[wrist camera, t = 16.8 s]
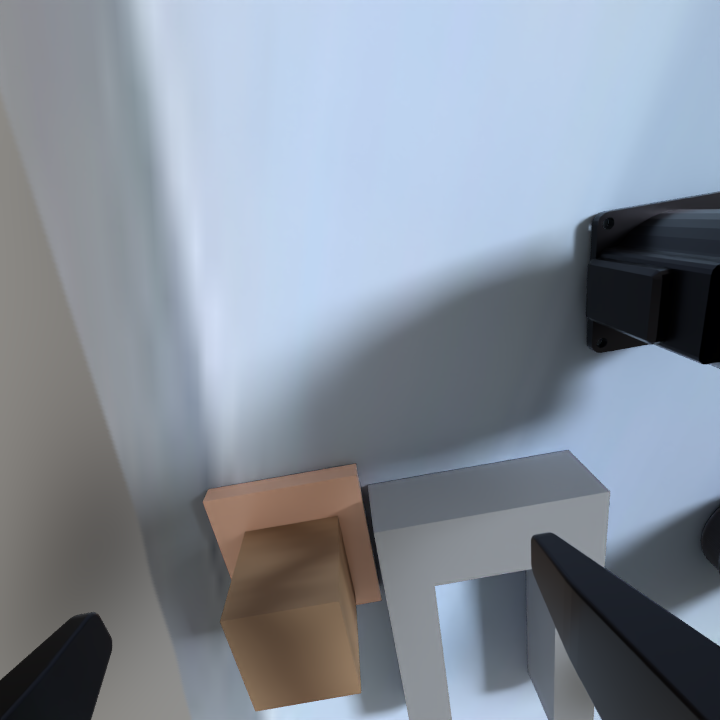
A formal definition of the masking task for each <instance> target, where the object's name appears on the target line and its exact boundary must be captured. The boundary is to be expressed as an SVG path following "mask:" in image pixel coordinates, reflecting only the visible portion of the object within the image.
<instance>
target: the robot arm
mask: <svg viewBox="0 0 720 720" xmlns="http://www.w3.org/2000/svg"><path fill="white" fill-rule="evenodd" d="M606 218H607V219H608V221H609V223H608V226H607V227H606V228H605V229H604V228H603V222H604V221H605V219H606ZM586 316H587V317H588V328H587V346H588V347H589V348H590V349H592V350H594V351H596V352H598V353H602V352H608V351H614V350H619V349H625V348H631V347H637V346H642V345H648V344H654V345H657V346H659V347H661V348H664V349H666V350H669V351H671V352H674V353H676V354H679V355H681V356H684V357H686V358H689V359H691V360H693V361H696V362H698V363H701V364H709V365H712V366H714V367H717V368H719V369H720V191H719V192H714V193H708V194H702V195H696V196H690V197H685V198H679V199H673V200H667V201H661V202H656V203H650V204H644V205H638V206H632V207H626V208H621V209H615V210H609V211H603V212H601V213H599V214H598V215H596V216H595V218H594V219H593V222H592V232H591V256H590V263H589V265H588V277H587V302H586ZM601 338H602V342H601V343H600V344H599V345H597V342H598V340H599V339H601ZM531 567H532V572H533V575H534V578H535V580H536V582H537V585H538V587H539V590H540V592H541V594H542V597H543V599H544V601H545V604H546V606H547V608H548V611H549V613H550V615H551V618H552V620H553V622H554V625H555V627H556V629H557V632H558V634H559V636H560V639H561V641H562V643H563V646H564V648H565V650H566V652H567V655H568V657H569V659H570V661H571V663H572V665H573V667H574V669H575V671H576V673H577V675H578V676H579V678H580V680H581V682H582V684H583V686H584V688H585V689H586V691H587V693H588V695H589V697H590V699H591V701H592V702H593V704H594V706H595V708H596V710H597V712H598V714H599V715H600V717H601V719H602V720H720V646H718V645H717V644H715V643H714V642H712V641H711V640H710V639H708V638H707V637H705V636H704V635H702V634H701V633H699V632H698V631H696V630H695V629H693V628H692V627H690V626H689V625H688V624H686V623H685V622H683V621H682V620H680V619H679V618H677V617H676V616H674V615H673V614H671V613H670V612H669V611H667V610H666V609H664V608H663V607H661V606H660V605H658V604H657V603H655V602H654V601H652V600H651V599H649V598H648V597H647V596H645V595H644V594H642V593H641V592H639V591H638V590H636V589H635V588H633V587H632V586H630V585H629V584H628V583H626V582H625V581H623V580H622V579H620V578H619V577H617V576H616V575H614V574H613V573H611V572H610V571H608V570H607V569H606V568H604V567H603V566H601V565H600V564H598V563H597V562H595V561H594V560H592V559H591V558H589V557H588V556H586V555H585V554H584V553H582V552H581V551H579V550H578V549H576V548H575V547H573V546H572V545H570V544H569V543H567V542H566V541H565V540H563V539H562V538H560V537H559V536H557V535H556V534H554V533H551V532H547V533H541V534H536V535H533V536H532V538H531ZM111 651H112V638H111V636H110V634H109V632H108V630H107V629H106V627H105V625H104V623H103V621H102V620H101V618H100V616H99V615H98V614H96V613H95V612H91V613H86V614H80V615H76V616H74V617H72V618H70V619H69V620H68V621H67V622H66V623H65V624H63V625H62V626H61V627H60V628H59V629H58V630H57V631H55V632H54V633H53V634H52V635H51V636H50V637H49V638H48V639H46V640H45V641H44V642H43V643H42V644H41V645H40V646H39V647H37V648H36V649H35V650H34V651H33V652H32V653H31V654H30V655H28V656H27V657H26V658H25V659H24V660H23V661H21V662H20V663H19V664H18V665H17V666H16V667H15V668H14V669H13V670H11V671H10V672H9V673H8V674H7V675H6V676H5V677H4V678H2V679H1V680H0V720H91V718H92V714H93V712H94V708H95V705H96V702H97V698H98V695H99V692H100V688H101V685H102V682H103V678H104V675H105V672H106V669H107V665H108V662H109V658H110V655H111Z"/></svg>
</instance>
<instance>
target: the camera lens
mask: <svg viewBox="0 0 720 720" xmlns="http://www.w3.org/2000/svg"><path fill="white" fill-rule="evenodd" d="M701 546H702V550H703V553H704V555H705V556H706V558H707V559H708V560H709V561H710V562H711V563H712V564H713V565H714V566H715V567H716V568H717V569H718V570H719V573H720V507H719V508H718V509H717V510H716V511H715V513H714V514H713V515H712V516H711V517H710V519H709V520H708V522H707V524H706V526H705V528H704V530H703V533H702V538H701Z"/></svg>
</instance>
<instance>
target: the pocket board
mask: <svg viewBox="0 0 720 720" xmlns="http://www.w3.org/2000/svg"><path fill="white" fill-rule="evenodd" d="M368 492H369V500H370V507H371V515H372V523H373V531H374V537H375V542H376V547H377V553H378V558H379V563H380V568H381V574H382V579H383V584H384V590H385V595H386V600H387V605H388V611H389V616H390V621H391V626H392V632H393V637H394V642H395V648H396V653H397V658H398V663H399V669H400V674H401V679H402V684H403V690H404V695H405V700H406V706H407V711H408V716H409V720H452V717H451V709H450V702H449V694H448V686H447V678H446V670H445V663H444V655H443V647H442V639H441V632H440V624H439V616H438V608H437V601H436V593H435V586H438V585H443V584H449V583H455V582H460V581H466V580H472V579H478V578H483V577H489V576H495V575H500V574H506V573H512V572H517V571H523V570H526V600H527V653H528V673H529V676H530V678H531V680H532V683H533V685H534V687H535V690H536V692H537V694H538V697H539V699H540V701H541V704H542V706H543V708H544V711H545V713H546V716H547V718H548V720H593V717H594V704H593V702H592V701H591V699H590V697H589V695H588V693H587V691H586V689H585V688H584V686H583V684H582V682H581V680H580V678H579V676H578V675H577V673H576V671H575V669H574V667H573V665H572V663H571V661H570V659H569V657H568V655H567V652H566V650H565V648H564V646H563V643H562V641H561V639H560V636H559V634H558V632H557V629H556V627H555V625H554V622H553V620H552V618H551V615H550V613H549V611H548V608H547V606H546V604H545V601H544V599H543V597H542V594H541V592H540V590H539V587H538V585H537V582H536V580H535V578H534V575H533V572H532V567H531V538H532V536H533V535H536V534H541V533H547V532H551V533H554V534H556V535H557V536H559V537H560V538H562V539H563V540H565V541H566V542H567V543H569V544H570V545H572V546H573V547H575V548H576V549H578V550H579V551H581V552H582V553H584V554H585V555H586V556H588V557H589V558H591V559H592V560H594V561H595V562H597V563H598V564H600V565H601V566H603V567H605V554H606V540H607V527H608V513H609V499H610V491H609V490H608V489H607V488H606V487H605V486H604V485H603V484H602V483H601V482H600V481H599V480H598V479H597V478H596V477H595V476H594V475H593V474H592V473H591V472H590V471H589V470H588V469H587V468H586V467H585V466H584V465H583V464H582V463H581V462H580V461H579V460H578V459H577V458H576V457H575V456H574V455H573V454H572V453H571V452H570V451H569V450H566V451H560V452H555V453H549V454H543V455H537V456H532V457H526V458H520V459H514V460H509V461H503V462H497V463H492V464H486V465H480V466H474V467H469V468H463V469H457V470H451V471H446V472H440V473H434V474H428V475H423V476H417V477H411V478H406V479H400V480H394V481H388V482H383V483H377V484H371V485H368Z"/></svg>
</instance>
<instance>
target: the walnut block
mask: <svg viewBox="0 0 720 720" xmlns="http://www.w3.org/2000/svg"><path fill="white" fill-rule="evenodd" d="M220 623H221V626H222V628H223V631H224V633H225V636H226V638H227V641H228V643H229V646H230V648H231V651H232V653H233V656H234V658H235V661H236V664H237V666H238V669H239V671H240V674H241V676H242V679H243V681H244V684H245V686H246V689H247V691H248V694H249V696H250V699H251V701H252V704H253V706H254V709H255V711H261V710H267V709H272V708H278V707H284V706H290V705H296V704H301V703H307V702H313V701H319V700H324V699H330V698H336V697H342V696H348V695H353V694H359V693H361V679H360V662H359V645H358V628H357V611H356V596H355V591H354V587H353V582H352V578H351V573H350V569H349V564H348V560H347V555H346V550H345V546H344V541H343V537H342V532H341V528H340V523H339V519H338V516H334V517H328V518H322V519H316V520H310V521H304V522H298V523H293V524H287V525H281V526H275V527H269V528H263V529H257V530H251V531H246V532H245V533H244V537H243V541H242V544H241V548H240V551H239V555H238V559H237V562H236V566H235V569H234V573H233V577H232V580H231V584H230V587H229V591H228V595H227V598H226V602H225V605H224V609H223V613H222V616H221V620H220Z"/></svg>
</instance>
